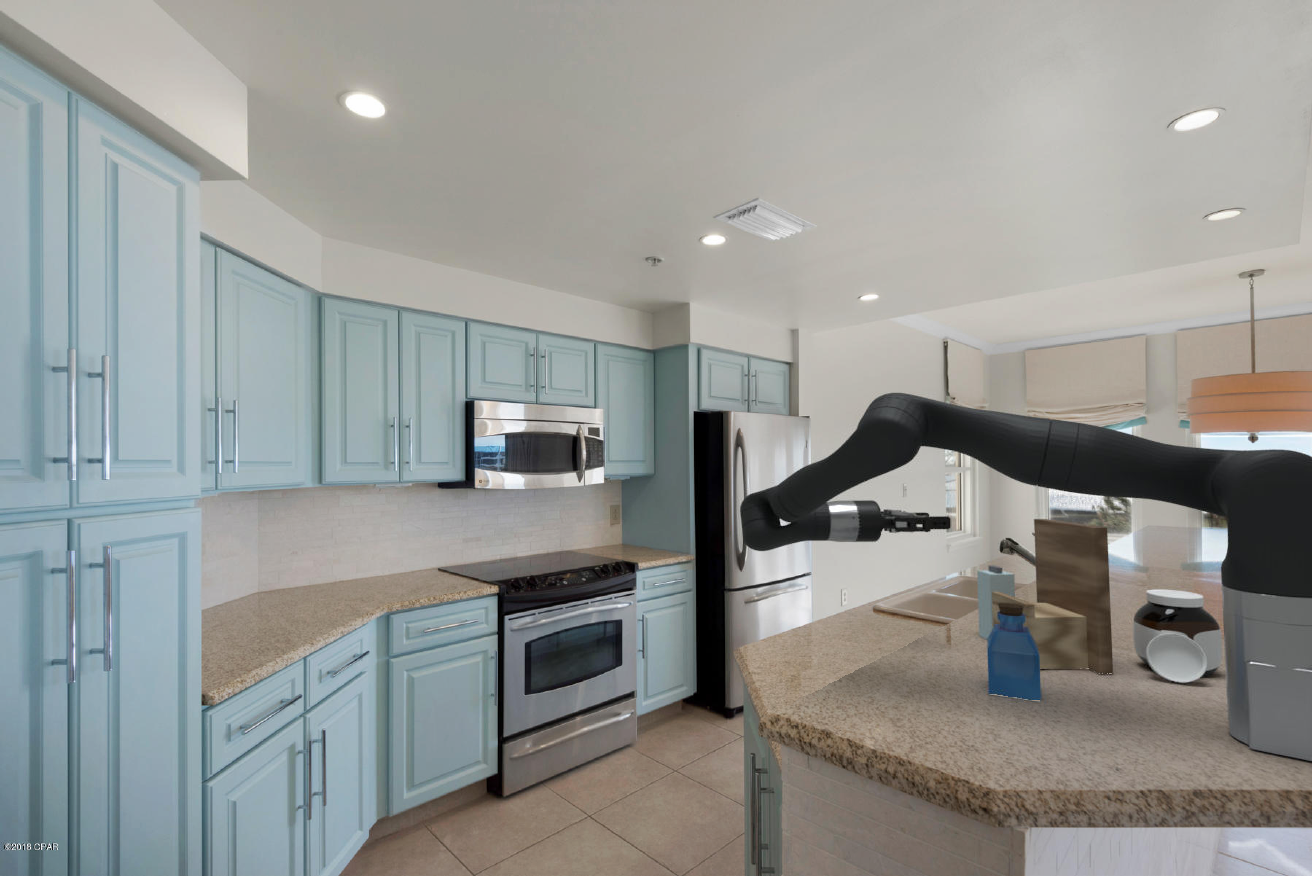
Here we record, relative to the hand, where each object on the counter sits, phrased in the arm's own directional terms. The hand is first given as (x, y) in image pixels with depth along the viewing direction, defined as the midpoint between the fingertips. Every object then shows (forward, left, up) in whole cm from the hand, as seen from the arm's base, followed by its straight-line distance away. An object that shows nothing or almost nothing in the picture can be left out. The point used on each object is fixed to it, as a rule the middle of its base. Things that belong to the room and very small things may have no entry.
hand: (938, 520), depth 115 cm
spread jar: (+2, -33, -22) cm, 40 cm away
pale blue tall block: (+6, -8, -21) cm, 24 cm away
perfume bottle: (-21, -15, -22) cm, 34 cm away
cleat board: (-2, -17, -21) cm, 27 cm away
